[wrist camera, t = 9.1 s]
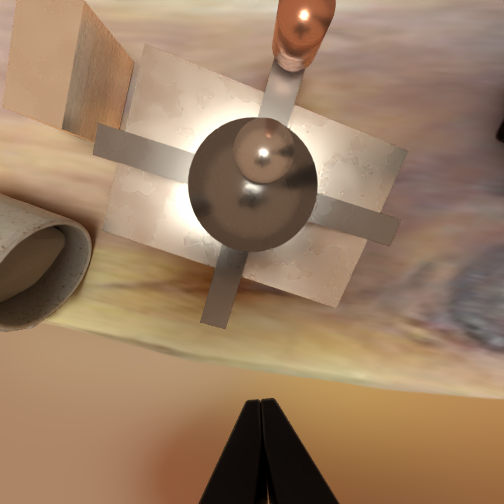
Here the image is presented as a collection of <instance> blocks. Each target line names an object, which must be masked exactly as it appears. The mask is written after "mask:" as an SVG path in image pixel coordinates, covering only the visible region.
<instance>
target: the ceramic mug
mask: <svg viewBox="0 0 504 504" xmlns="http://www.w3.org/2000/svg"><path fill="white" fill-rule="evenodd" d="M91 252H92V242H91V238H90V235H89V233H88V231H87V230H86V228H84V227H83V226H82V225H81V224H80V223H78V222H77V221H74V220H72V219H69V218H66V217H64V216H61V215H58V214H55V213H53V212H50V211H47V210H44V209H42V208H39V207H36V206H34V205H31V204H28V203H25V202H22V201H19V200H16V199H13V198H11V197H8V196H6V195H3V194H1V193H0V331H2V332H9V331H18V330H22V329H30V328H33V327H35V326H36V325H38V324H39V323H40V322H42V321H43V320H44V319H45V318H47V317H48V316H49V315H51V314H52V313H53V312H55V311H56V310H57V309H58V308H60V307H61V306H62V305H63V304H64V303H65V302H66V300H67V299H68V298H69V297H70V296H71V295H72V294H73V292H74V291H75V289H76V288H77V287H78V285H79V284H80V282H81V281H82V279H83V277H84V275H85V273H86V270H87V267H88V265H89V262H90V258H91Z"/></svg>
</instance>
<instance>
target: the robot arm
mask: <svg viewBox="0 0 504 504" xmlns="http://www.w3.org/2000/svg"><path fill="white" fill-rule="evenodd" d="M498 137H499V139H500V140H501V141H503V142H504V123H503V125H502V127H501V129H500V131H499V134H498ZM267 486H268V490H267ZM268 495H269V504H339V502H338V500H337V499H336V497H335V496H334V494H333V492H332V491H331V489H330V487H329V486H328V484H327V482H326V481H325V479H324V478H323V476H322V474H321V473H320V471H319V469H318V468H317V466H316V465H315V463H314V461H313V460H312V458H311V456H310V455H309V453H308V452H307V450H306V448H305V447H304V445H303V444H302V442H301V440H300V439H299V437H298V436H297V434H296V432H295V431H294V429H293V427H292V425H291V424H290V422H289V421H288V419H287V417H286V416H285V414H284V412H283V411H282V409H281V408H280V406H279V404H278V403H277V401H276V400H275V399H274V398H266V399H262V400H261V402H260V400H259V399H256V400H247V401H246V402H245V404H244V406H243V409H242V411H241V413H240V415H239V417H238V419H237V421H236V424H235V426H234V428H233V430H232V432H231V434H230V437H229V439H228V441H227V443H226V445H225V447H224V450H223V452H222V454H221V456H220V458H219V461H218V462H217V465H216V467H215V469H214V471H213V473H212V475H211V478H210V480H209V482H208V484H207V486H206V488H205V490H204V493H203V495H202V497H201V499H200V501H199V504H268Z"/></svg>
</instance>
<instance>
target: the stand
mask: <svg viewBox="0 0 504 504" xmlns="http://www.w3.org/2000/svg"><path fill="white" fill-rule="evenodd" d="M133 65H134V62H133V60H132V59H131V58H130V57H129V55H128V54H127V53H126V52H125V50H124V49H123V48H122V47H121V45H120V44H119V43H118V42H117V40H116V39H115V38H114V37H113V35H112V34H111V33H110V32H109V30H108V29H107V28H106V27H105V25H104V24H103V23H102V22H101V20H100V19H99V18H98V17H97V16H96V14H95V13H94V12H93V11H92V9H91V8H90V7H89V6H88V4H87V3H86V2H85V1H84V0H16V8H15V16H14V23H13V31H12V39H11V46H10V54H9V62H8V69H7V77H6V85H5V92H4V100H3V108H5V109H8V110H10V111H13V112H16V113H18V114H21V115H23V116H26V117H28V118H31V119H33V120H36V121H39V122H41V123H44V124H46V125H49V126H51V127H54V128H56V129H59V130H62V131H64V132H67V133H69V134H72V135H74V136H77V137H80V138H83V139H85V140H88V141H91V142H94V143H95V138H96V131H97V125H98V123H100V124H104V125H107V126H110V127H113V128H116V129H119V128H120V124H121V119H122V115H123V110H124V106H125V101H126V97H127V92H128V88H129V83H130V79H131V74H132V70H133ZM264 93H265V92H262V91H260V90H257V89H255V88H252V87H250V86H248V85H245V84H243V83H240V82H238V81H235V80H233V79H230V78H228V77H225V76H223V75H221V74H218V73H216V72H213V71H211V70H208V69H206V68H203V67H201V66H198V65H196V64H194V63H191V62H189V61H186V60H184V59H181V58H179V57H176V56H174V55H171V54H169V53H167V52H164V51H162V50H159V49H157V48H154V47H152V46H149V45H147V44H145V45H144V50H143V54H142V59H141V63H140V67H139V72H138V76H137V80H136V85H135V89H134V94H133V98H132V102H131V107H130V111H129V115H128V120H127V124H126V129H125V132H129V133H132V134H135V135H138V136H141V137H144V138H147V139H150V140H154V141H157V142H160V143H163V144H166V145H169V146H172V147H175V148H179V149H182V150H185V151H188V152H191V153H194V154H195V153H196V151H197V149H198V148H199V146H200V145H201V143H202V142H203V141H204V140H205V138H206V137H207V136H208V135H209V134H211V133H212V132H213V131H214V130H215V129H217V128H218V127H220V126H221V125H223V124H226V123H228V122H230V121H233V120H236V119H240V118H246V117H258V114H259V111H260V107H261V104H262V100H263V96H264ZM287 128H289V129H290V130H291V131H293V132H294V133H295V134H296V135H297V136H298V137H299V138H300V139H301V140H302V141H303V142H304V144H305V145H306V147H307V148H308V150H309V152H310V154H311V156H312V158H313V161H314V163H315V167H316V171H317V179H318V191H317V193H319V194H323V195H326V196H329V197H332V198H335V199H338V200H341V201H344V202H348V203H351V204H354V205H357V206H360V207H363V208H366V209H369V210H373V211H376V212H379V213H380V212H381V210H382V207H383V205H384V203H385V201H386V199H387V196H388V194H389V192H390V190H391V188H392V186H393V183H394V181H395V179H396V177H397V175H398V172H399V170H400V168H401V166H402V164H403V161H404V159H405V157H406V155H407V153H408V151H407V150H405V149H402V148H400V147H397V146H395V145H392V144H390V143H388V142H385V141H383V140H380V139H378V138H375V137H373V136H370V135H368V134H365V133H363V132H360V131H358V130H356V129H353V128H351V127H348V126H346V125H343V124H341V123H338V122H336V121H333V120H331V119H329V118H326V117H324V116H321V115H319V114H316V113H314V112H311V111H309V110H306V109H304V108H302V107H299V106H297V105H294V107H293V110H292V113H291V116H290V120H289V123H288V126H287ZM102 230H103V231H106V232H109V233H112V234H115V235H118V236H121V237H124V238H127V239H130V240H133V241H136V242H139V243H142V244H145V245H148V246H151V247H154V248H157V249H160V250H163V251H166V252H169V253H172V254H175V255H178V256H181V257H184V258H187V259H190V260H193V261H196V262H199V263H202V264H205V265H208V266H211V267H214V268H216V264H217V260H218V257H219V253H220V250H221V246H222V243H220V242H218V241H217V240H215V239H214V238H213V237H212V236H211V235H209V234H208V233H207V232H206V231H205V229H204V228H203V227H202V226H201V224H200V223H199V221H198V220H197V218H196V216H195V214H194V212H193V209H192V206H191V204H190V199H189V194H188V184H186V183H183V182H179V181H176V180H173V179H170V178H166V177H163V176H160V175H157V174H153V173H150V172H147V171H144V170H140V169H137V168H134V167H131V166H128V165H124V164H121V163H118V164H117V168H116V172H115V177H114V181H113V186H112V190H111V194H110V199H109V203H108V208H107V212H106V216H105V221H104V225H103V229H102ZM366 242H367V239H364V238H361V237H358V236H354V235H351V234H348V233H345V232H341V231H338V230H335V229H332V228H328V227H325V226H322V225H319V224H315V223H312V222H309V221H307V223H306V224H305V225H304V227H303V228H302V229H301V230H300V231H299V232H298V233H297V234H296V235H295V236H294V237H293V238H292V239H290V240H289V241H287V242H286V243H284V244H282V245H280V246H278V247H276V248H273V249H270V250H266V251H260V252H249V254H248V257H247V260H246V264H245V267H244V270H243V273H242V277H244V278H247V279H250V280H253V281H256V282H259V283H262V284H265V285H268V286H271V287H274V288H277V289H280V290H283V291H286V292H289V293H292V294H295V295H298V296H301V297H304V298H307V299H310V300H313V301H316V302H319V303H322V304H325V305H328V306H331V307H334V308H337V306H338V304H339V302H340V299H341V297H342V295H343V293H344V291H345V288H346V286H347V284H348V282H349V280H350V277H351V275H352V273H353V271H354V269H355V267H356V264H357V262H358V260H359V258H360V256H361V253H362V251H363V249H364V247H365V245H366Z"/></svg>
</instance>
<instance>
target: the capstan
mask: <svg viewBox="0 0 504 504" xmlns="http://www.w3.org/2000/svg"><path fill="white" fill-rule="evenodd" d="M335 6H336V0H279V4H278V10H277V17H276V23H275V30H274V36H273V43H272V49H273V54H274V61H273V64H272V68H271V72H270V75H269V79H268V82H267V86H266V89H265V93H264V96H263V100H262V104H261V107H260V111H259V114H258V117H246V118H240V119H236V120H233V121H230V122H228V123H226V124H223V125H221V126H220V127H218V128H217V129H215V130H214V131H213V132H212V133H211V134H209V135H208V136H207V137H206V138H205V140H204V141H203V142H202V143H201V145H200V146H199V148H198V149H197V151H196V153H195V154H194V153H191V152H188V151H185V150H182V149H179V148H175V147H172V146H169V145H166V144H163V143H160V142H157V141H154V140H150V139H147V138H144V137H141V136H138V135H135V134H132V133H129V132H125V131H122V130H119V129H116V128H113V127H110V126H107V125H104V124H100V123H98V125H97V131H96V138H95V144H94V150H93V155H95V156H99V157H102V158H105V159H108V160H111V161H115V162H118V163H121V164H124V165H128V166H131V167H134V168H137V169H140V170H144V171H147V172H150V173H153V174H157V175H160V176H163V177H166V178H170V179H173V180H176V181H179V182H183V183H186V184H188V194H189V199H190V204H191V206H192V209H193V212H194V214H195V216H196V218H197V220H198V221H199V223H200V224H201V226H202V227H203V228H204V229H205V231H206V232H207V233H208V234H209V235H211V236H212V237H213V238H214V239H215V240H217V241H218V242H220V243H222V246H221V250H220V253H219V257H218V260H217V264H216V268H215V271H214V275H213V278H212V282H211V285H210V289H209V293H208V296H207V300H206V303H205V307H204V310H203V314H202V317H201V321H200V323H204V324H208V325H211V326H215V327H219V328H223V329H226V326H227V322H228V319H229V316H230V313H231V309H232V306H233V303H234V300H235V296H236V293H237V290H238V286H239V283H240V280H241V277H242V273H243V270H244V267H245V264H246V260H247V257H248V254H249V252H260V251H266V250H270V249H273V248H276V247H278V246H280V245H282V244H284V243H286V242H287V241H289V240H290V239H292V238H293V237H294V236H295V235H296V234H297V233H298V232H299V231H300V230H301V229H302V228H303V227H304V225H305V224H306V223H307V221H309V222H312V223H315V224H319V225H322V226H325V227H328V228H332V229H335V230H338V231H341V232H345V233H348V234H351V235H354V236H358V237H361V238H364V239H367V240H371V241H374V242H377V243H380V244H384V245H387V246H390V245H391V243H392V240H393V238H394V236H395V233H396V231H397V228H398V226H399V224H400V221H401V219H398V218H395V217H391V216H388V215H385V214H382V213H379V212H376V211H373V210H369V209H366V208H363V207H360V206H357V205H354V204H351V203H348V202H344V201H341V200H338V199H335V198H332V197H329V196H326V195H323V194H319V193H317V191H318V179H317V171H316V167H315V163H314V161H313V158H312V156H311V154H310V152H309V150H308V148H307V147H306V145H305V144H304V142H303V141H302V140H301V139H300V138H299V137H298V136H297V135H296V134H295V133H294V132H293V131H291V130H290V129H289V128H287V126H288V123H289V120H290V116H291V113H292V110H293V107H294V103H295V100H296V97H297V94H298V90H299V87H300V84H301V80H302V77H303V74H304V71H305V68H306V67H308V66H309V65H310V64H311V63H312V61H313V60H314V58H315V56H316V53H317V51H318V49H319V47H320V45H321V43H322V40H323V38H324V36H325V34H326V32H327V29H328V27H329V25H330V23H331V21H332V18H333V16H334V12H335Z"/></svg>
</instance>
